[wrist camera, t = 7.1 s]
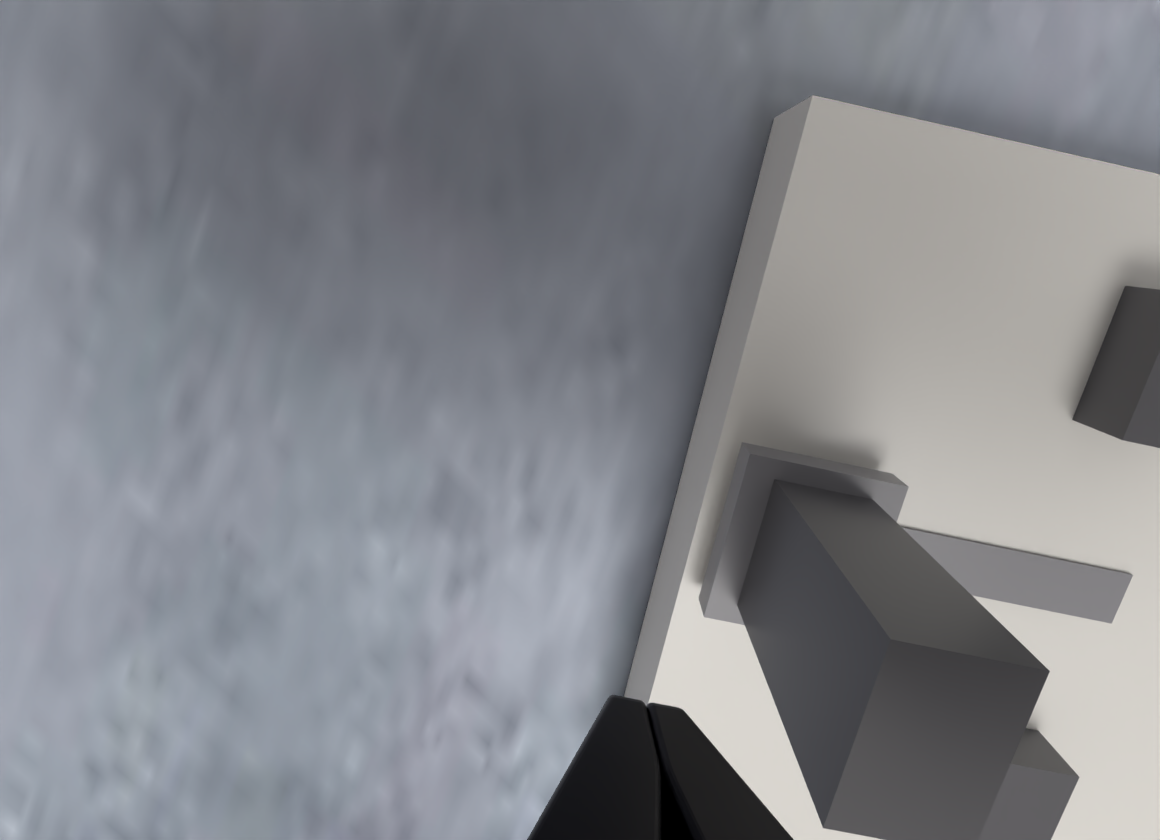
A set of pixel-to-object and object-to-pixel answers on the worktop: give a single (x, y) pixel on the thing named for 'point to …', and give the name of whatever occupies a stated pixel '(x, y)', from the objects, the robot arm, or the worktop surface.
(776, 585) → the handle
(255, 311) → the worktop surface
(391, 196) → the worktop surface
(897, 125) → the panel
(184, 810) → the worktop surface
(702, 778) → the robot arm
